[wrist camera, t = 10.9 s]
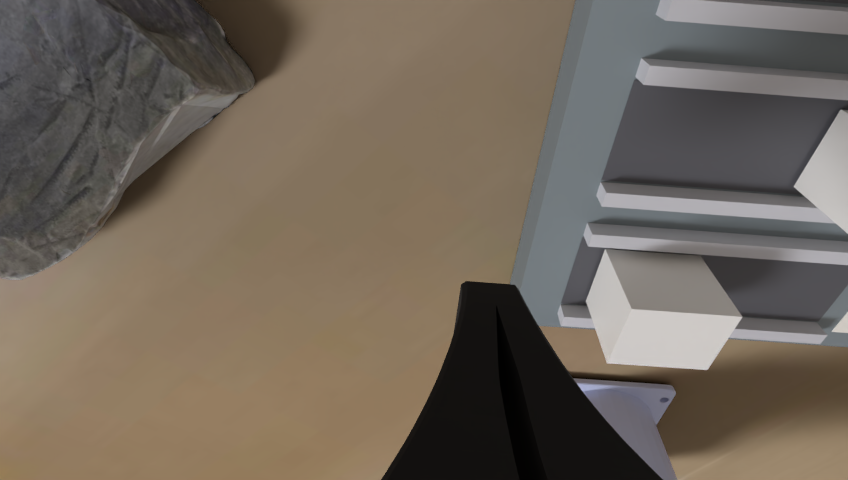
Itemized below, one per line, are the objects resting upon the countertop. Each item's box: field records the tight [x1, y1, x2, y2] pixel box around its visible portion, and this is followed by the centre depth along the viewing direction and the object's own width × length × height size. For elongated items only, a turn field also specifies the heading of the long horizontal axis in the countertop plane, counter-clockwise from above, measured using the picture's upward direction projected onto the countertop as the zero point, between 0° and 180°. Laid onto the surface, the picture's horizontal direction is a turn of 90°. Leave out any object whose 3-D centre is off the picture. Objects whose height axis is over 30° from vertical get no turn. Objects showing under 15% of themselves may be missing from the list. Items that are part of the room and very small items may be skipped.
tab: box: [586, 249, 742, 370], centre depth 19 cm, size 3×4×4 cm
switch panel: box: [510, 0, 848, 347], centre depth 18 cm, size 20×18×3 cm
